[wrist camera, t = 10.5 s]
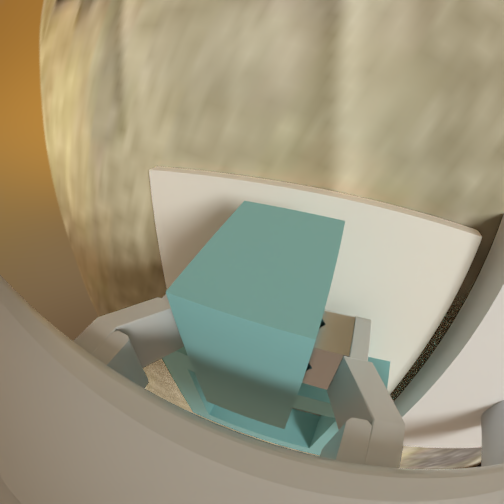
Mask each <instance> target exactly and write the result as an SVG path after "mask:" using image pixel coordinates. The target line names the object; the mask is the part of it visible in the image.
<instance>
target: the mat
mask: <svg viewBox="0 0 504 504" xmlns="http://www.w3.org/2000/svg"><path fill="white" fill-rule="evenodd" d="M149 176H150V186H151V195H152V203H153V210H154V218H155V225H156V232H157V238H158V244H159V250H160V256H161V262H162V267H163V273H164V278H165V283H166V288H167V289H168V288H169V287H170V286H171V285H172V283H173V282H174V281H175V280H176V279H177V277H178V276H179V275H180V274H181V273H182V272H183V270H184V269H185V268H186V267H187V266H188V264H189V263H190V262H191V261H192V260H193V259H194V257H195V256H196V255H197V254H198V253H199V252H200V250H201V249H202V248H203V247H204V246H205V245H206V243H207V242H208V241H209V240H210V239H211V238H212V237H213V235H214V234H215V233H216V232H217V231H218V230H219V229H220V227H221V226H222V225H223V224H224V223H225V222H226V221H227V220H228V218H229V217H230V216H231V215H232V214H233V213H234V212H235V211H236V209H237V208H238V207H239V206H240V205H241V204H242V203H243V202H244V201H249V202H255V203H260V204H266V205H271V206H276V207H281V208H287V209H292V210H297V211H301V212H306V213H311V214H316V215H321V216H325V217H330V218H334V219H339V220H343V221H345V225H344V230H343V235H342V240H341V244H340V249H339V253H338V258H337V262H336V266H335V270H334V275H333V279H332V283H331V287H330V291H329V294H328V298H327V302H326V306H325V309H327V310H331V311H335V312H339V313H343V314H347V315H352V316H357V317H361V318H366V319H371V322H372V323H371V335H370V345H369V354H368V357H372V358H376V359H381V360H386V361H390V370H389V378H388V386H387V390H388V392H389V394H391V392H392V391H393V390H394V389H395V388H396V386H397V385H398V384H399V383H400V381H401V380H402V379H403V377H404V376H405V375H406V373H407V372H408V371H409V369H410V368H411V367H412V365H413V364H414V363H415V361H416V360H417V358H418V357H419V355H420V354H421V353H422V351H423V350H424V348H425V347H426V345H427V344H428V342H429V341H430V339H431V337H432V336H433V334H434V333H435V331H436V330H437V328H438V326H439V325H440V323H441V321H442V320H443V318H444V316H445V314H446V313H447V311H448V309H449V307H450V306H451V304H452V302H453V300H454V298H455V296H456V294H457V292H458V291H459V289H460V287H461V285H462V283H463V281H464V278H465V276H466V274H467V272H468V270H469V268H470V266H471V263H472V261H473V259H474V257H475V254H476V252H477V249H478V247H479V245H480V242H481V239H482V236H481V234H480V233H479V231H478V230H476V229H473V228H470V227H467V226H464V225H461V224H458V223H455V222H452V221H448V220H445V219H442V218H439V217H435V216H432V215H428V214H425V213H421V212H418V211H414V210H411V209H407V208H403V207H399V206H395V205H392V204H388V203H384V202H380V201H375V200H371V199H367V198H363V197H358V196H354V195H349V194H345V193H340V192H335V191H331V190H326V189H321V188H316V187H310V186H305V185H300V184H294V183H288V182H282V181H276V180H270V179H264V178H257V177H251V176H244V175H236V174H229V173H221V172H212V171H204V170H194V169H184V168H174V167H162V166H156V167H154V168H152V169H149ZM292 409H295V410H299V411H303V412H306V413H310V414H314V415H318V416H320V414H316V413H312V412H308V411H304V410H301V409H297V408H292Z"/></svg>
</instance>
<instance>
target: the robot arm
mask: <svg viewBox="0 0 504 504" xmlns="http://www.w3.org/2000/svg"><path fill="white" fill-rule="evenodd" d="M371 323H372V322H371V319H366V318H361V317H357V316H352V315H347V314H343V313H339V312H335V311H331V310H327V309H324V313H323V317H322V320H321V324H320V327H319V331H318V334H317V337H316V341H315V344H314V347H313V350H312V353H311V357H310V360H309V363H308V366H307V369H306V372H305V375H304V378H303V381H302V383H305V384H308V385H311V386H315V387H318V388H322V389H326V390H327V393H328V396H329V400H330V403H331V406H332V409H333V413H334V416H335V419H336V423H337V426H338V429H339V430H338V432H337V433H336V434H335V435H334V436H333V437H332V438H331V440H330V441H329V442H328V443H327V444H326V445H325V446H324V447H323V448H322V451H321V454H320V456H315V455H310V454H306V453H302V452H298V451H295V450H291V449H287V448H284V447H280V446H277V445H274V444H271V443H267V442H264V441H261V440H258V439H255V438H252V437H249V436H247V435H244V434H241V433H238V432H236V431H233V430H231V429H228V428H225V427H223V426H221V425H218V424H216V423H213V422H211V421H209V420H206V419H204V418H202V417H200V416H197V415H195V414H193V413H191V412H189V411H187V410H184V409H182V408H180V407H178V406H176V405H174V404H172V403H170V402H168V401H166V400H165V399H163V398H161V397H159V396H157V395H155V394H153V393H152V392H150V391H148V390H146V389H144V388H145V387H146V385H147V384H148V383H149V382H148V378H147V376H146V374H145V372H144V370H143V368H144V367H146V366H148V365H150V364H151V363H153V362H155V361H157V360H159V359H161V358H163V357H165V356H167V355H169V354H171V353H173V352H175V351H177V350H178V349H180V348H182V347H184V344H183V341H182V339H181V336H180V333H179V330H178V328H177V325H176V322H175V319H174V316H173V313H172V310H171V307H170V304H169V301H168V298H167V295H166V294H165V295H164V296H163V297H162V298H159V297H157V298H154V299H151V300H148V301H145V302H142V303H139V304H136V305H133V306H130V307H127V308H124V309H121V310H118V311H115V312H112V313H109V314H106V315H103V316H100V317H97V318H96V319H95V320H94V321H93V322H92V323H91V324H90V325H89V326H88V327H87V328H86V329H85V330H84V331H83V332H82V333H81V334H80V335H79V336H78V337H77V338H76V339H75V340H74V341H72V340H71V339H70V338H68V337H67V336H65V335H64V334H63V333H62V332H61V331H59V330H58V329H57V328H56V327H55V326H53V325H52V324H51V323H50V322H49V321H47V320H46V319H45V318H44V317H43V316H42V315H41V314H39V313H38V312H37V311H36V310H35V309H34V308H33V307H32V306H31V305H30V304H29V303H27V301H25V300H24V299H23V298H22V297H21V296H20V295H19V294H18V293H17V292H16V291H15V290H14V289H13V288H12V287H11V286H10V285H9V284H8V283H7V282H6V280H5V279H4V278H3V277H2V276H1V275H0V504H504V463H503V464H497V465H490V466H482V467H473V468H460V469H403V468H399V467H400V462H401V455H402V449H403V441H404V433H405V423H404V421H403V419H402V417H401V415H400V413H399V411H398V409H397V408H396V406H395V404H394V402H393V400H392V398H391V396H390V394H389V392H388V390H387V389H386V387H385V385H384V383H383V381H382V379H381V377H380V376H379V374H378V372H377V370H376V368H375V366H374V365H373V363H372V362H368V354H369V345H370V335H371Z"/></svg>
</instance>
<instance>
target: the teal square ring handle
mask: <svg viewBox="0 0 504 504" xmlns="http://www.w3.org/2000/svg"><path fill="white" fill-rule="evenodd" d="M344 225H345V221H343V220H339V219H334V218H330V217H325V216H321V215H316V214H311V213H306V212H301V211H297V210H292V209H287V208H281V207H276V206H271V205H266V204H260V203H255V202H249V201H244V202H243V203H242V204H241V205H240V206H239V207H238V208H237V209H236V211H235V212H234V213H233V214H232V215H231V216H230V217H229V218H228V220H227V221H226V222H225V223H224V224H223V225H222V226H221V227H220V229H219V230H218V231H217V232H216V233H215V234H214V235H213V237H212V238H211V239H210V240H209V241H208V242H207V243H206V245H205V246H204V247H203V248H202V249H201V250H200V252H199V253H198V254H197V255H196V256H195V257H194V259H193V260H192V261H191V262H190V263H189V264H188V266H187V267H186V268H185V269H184V270H183V272H182V273H181V274H180V275H179V276H178V277H177V279H176V280H175V281H174V282H173V283H172V285H171V286H170V287H169V288H168V289H167V291H166V295H167V298H168V301H169V304H170V307H171V310H172V313H173V316H174V319H175V322H176V325H177V328H178V330H179V333H180V336H181V339H182V341H183V344H184V347H182V348H180V349H178V350H177V351H175V352H173V353H171V354H169V355H167V356H165V357H163V358H162V359H163V361H164V363H165V365H166V367H167V368H168V370H169V372H170V374H171V376H172V377H173V379H174V381H175V383H176V384H177V386H178V388H179V389H180V391H181V393H182V395H183V396H184V398H185V399H186V401H187V403H188V404H189V406H190V408H191V409H192V411H193V412H194V413H196V414H198V415H200V416H203V417H205V418H207V419H210V420H212V421H214V422H217V423H219V424H222V425H224V426H227V427H229V428H232V429H234V430H237V431H240V432H242V433H245V434H248V435H251V436H254V437H256V438H259V439H262V440H266V441H269V442H272V443H275V444H278V445H282V446H285V447H289V448H293V449H296V450H300V451H304V452H308V453H312V454H317V455H320V454H321V451H322V448H323V447H324V446H325V445H326V444H327V443H328V442H329V441H330V440H331V438H332V437H333V436H334V435H335V434H336V433H337V432H338V430H339V429H338V426H337V423H336V419H335V416H334V413H333V409H332V406H331V403H330V400H329V396H328V393H327V390H326V389H322V388H318V387H315V386H311V385H308V384H305V383H302V381H303V378H304V375H305V372H306V369H307V366H308V363H309V360H310V357H311V353H312V350H313V347H314V344H315V341H316V337H317V334H318V331H319V327H320V324H321V320H322V317H323V313H324V309H325V306H326V302H327V298H328V294H329V291H330V287H331V283H332V279H333V275H334V270H335V266H336V262H337V258H338V253H339V249H340V244H341V240H342V235H343V230H344ZM368 362H372V363H373V365H374V366H375V368H376V370H377V372H378V374H379V376H380V377H381V379H382V381H383V383H384V385H385V387H386V389H387V386H388V378H389V370H390V361H386V360H381V359H376V358H372V357H368ZM292 408H297V409H301V410H304V411H308V412H312V413H316V414H320V416H318V415H314V414H310V413H306V412H303V411H299V410H295V409H292Z"/></svg>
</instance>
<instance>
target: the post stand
mask: <svg viewBox="0 0 504 504" xmlns="http://www.w3.org/2000/svg"><path fill="white" fill-rule="evenodd" d="M394 404H395V406H396V408H397V409H398V411H399V413H400V415H401V417H402V419H403V421H404V423H405V433H404V441H403V446H412V447H428V448H476V447H482V457H481V467H482V466H490V465H497V464H503V463H504V214H503V217H502V220H501V223H500V226H499V228H498V231H497V234H496V236H495V239H494V241H493V244H492V246H491V249H490V251H489V253H488V256H487V258H486V260H485V263H484V265H483V267H482V269H481V271H480V273H479V275H478V277H477V279H476V281H475V283H474V285H473V287H472V289H471V291H470V293H469V295H468V297H467V299H466V300H465V302H464V304H463V306H462V308H461V309H460V311H459V313H458V314H457V316H456V318H455V319H454V321H453V323H452V324H451V326H450V328H449V329H448V331H447V332H446V334H445V335H444V337H443V338H442V340H441V341H440V343H439V344H438V346H437V347H436V349H435V350H434V351H433V353H432V354H431V356H430V357H429V358H428V360H427V361H426V363H425V364H424V365H423V367H422V368H421V369H420V370H419V372H418V373H417V374H416V376H415V377H414V378H413V379H412V381H411V382H410V383H409V384H408V385H407V387H406V388H405V389H404V390H403V391H402V393H401V394H400V395H399V396H398V397H397V398H396V399H395V401H394Z"/></svg>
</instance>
